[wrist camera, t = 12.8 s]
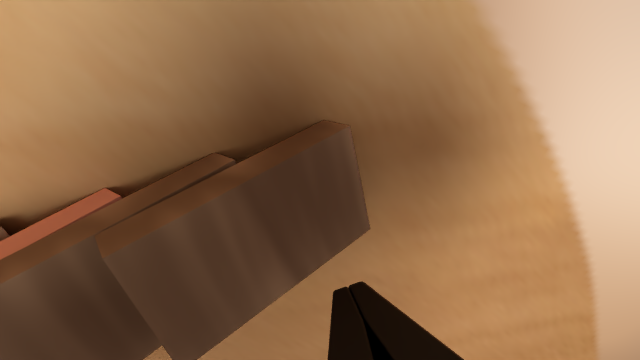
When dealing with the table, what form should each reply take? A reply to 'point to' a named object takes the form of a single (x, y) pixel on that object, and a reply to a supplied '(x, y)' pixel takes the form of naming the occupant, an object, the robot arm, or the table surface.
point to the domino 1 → (57, 221)
